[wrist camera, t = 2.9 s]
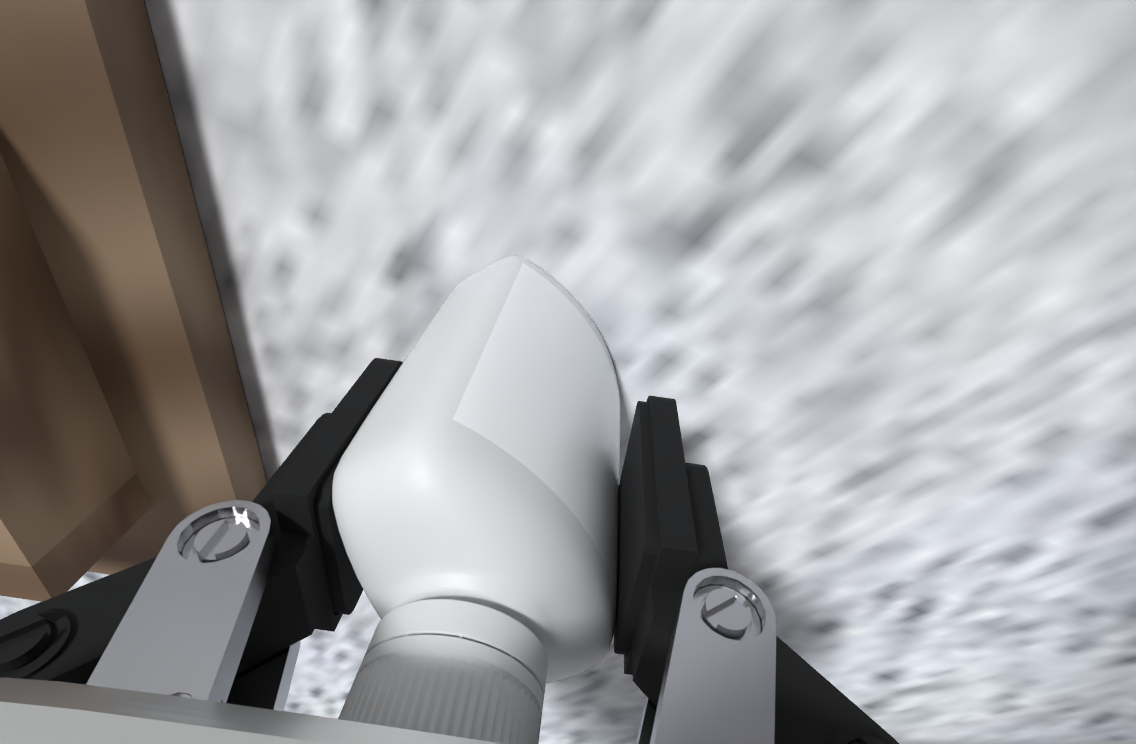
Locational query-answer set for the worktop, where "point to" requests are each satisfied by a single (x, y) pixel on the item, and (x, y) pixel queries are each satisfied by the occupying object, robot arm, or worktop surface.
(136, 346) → the bottle stand
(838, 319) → the worktop surface
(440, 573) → the eye dropper bottle
